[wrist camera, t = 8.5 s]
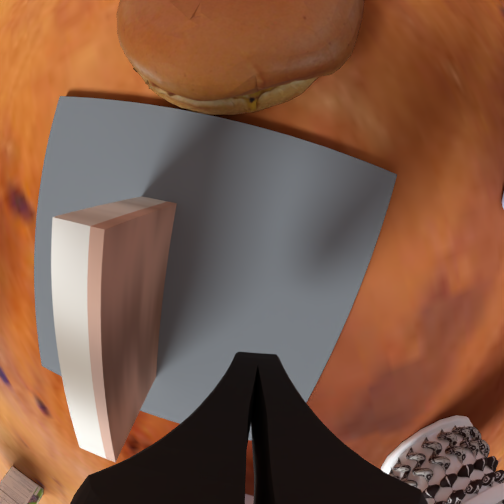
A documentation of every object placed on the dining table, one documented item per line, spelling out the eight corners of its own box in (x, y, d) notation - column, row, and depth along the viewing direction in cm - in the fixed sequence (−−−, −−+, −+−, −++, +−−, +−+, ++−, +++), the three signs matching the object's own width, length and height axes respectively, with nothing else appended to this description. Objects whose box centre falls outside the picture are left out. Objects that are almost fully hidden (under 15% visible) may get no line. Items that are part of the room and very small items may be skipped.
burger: (192, 157, 12) (153, 146, 7) (114, 16, 10) (70, -26, 5) (387, 66, 11) (436, 27, 6) (284, -58, 9) (290, -112, 4)
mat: (393, 174, 12) (397, 174, 11) (281, 440, 15) (281, 445, 15) (64, 97, 11) (60, 96, 11) (44, 362, 15) (41, 365, 14)
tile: (155, 376, 14) (115, 462, 8) (128, 368, 14) (79, 447, 8) (176, 203, 12) (104, 229, 6) (141, 196, 12) (52, 217, 6)
